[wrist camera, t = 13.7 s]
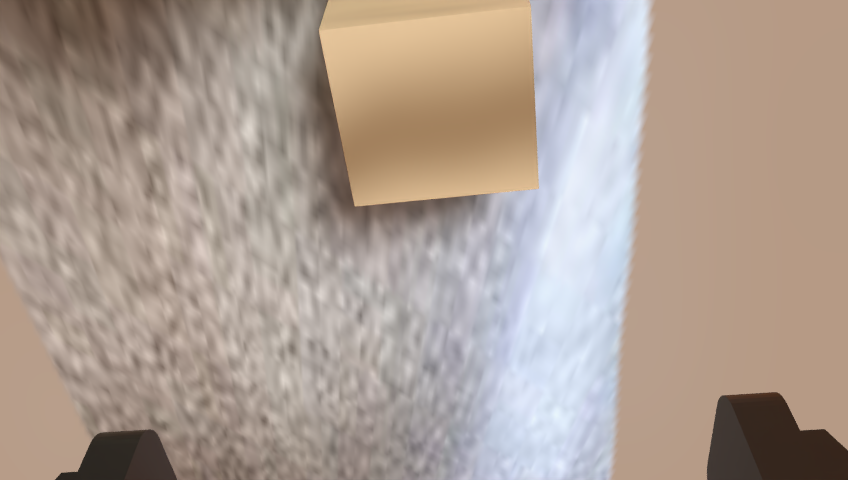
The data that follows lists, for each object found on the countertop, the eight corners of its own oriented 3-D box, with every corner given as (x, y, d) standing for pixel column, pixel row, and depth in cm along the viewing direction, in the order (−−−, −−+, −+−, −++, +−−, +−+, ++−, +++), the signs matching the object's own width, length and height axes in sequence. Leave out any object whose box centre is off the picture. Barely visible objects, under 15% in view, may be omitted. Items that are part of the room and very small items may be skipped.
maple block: (338, -34, 23) (318, 30, 19) (513, -55, 23) (530, 6, 18) (366, 122, 26) (354, 206, 22) (521, 105, 25) (538, 188, 21)
